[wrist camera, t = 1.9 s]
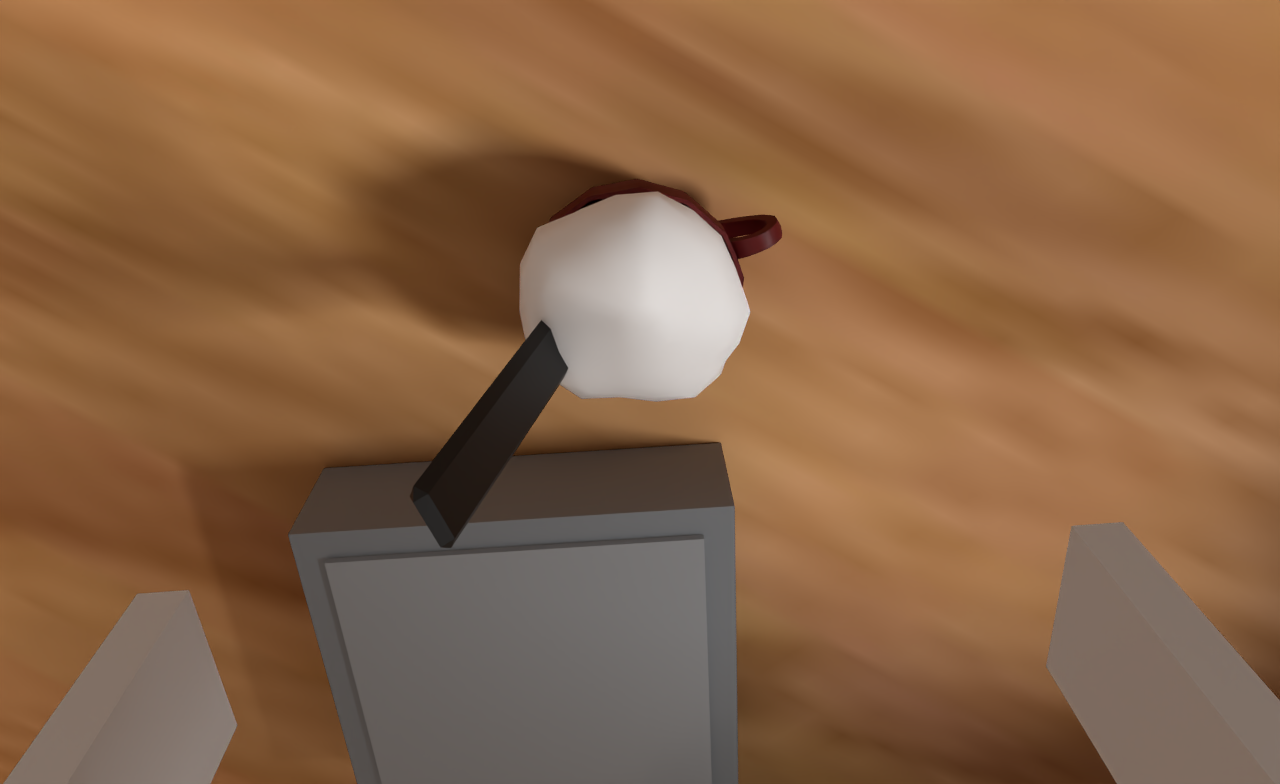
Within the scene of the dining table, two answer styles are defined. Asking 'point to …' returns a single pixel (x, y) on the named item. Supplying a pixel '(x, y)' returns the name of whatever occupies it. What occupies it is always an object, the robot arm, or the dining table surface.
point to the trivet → (532, 621)
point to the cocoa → (603, 326)
